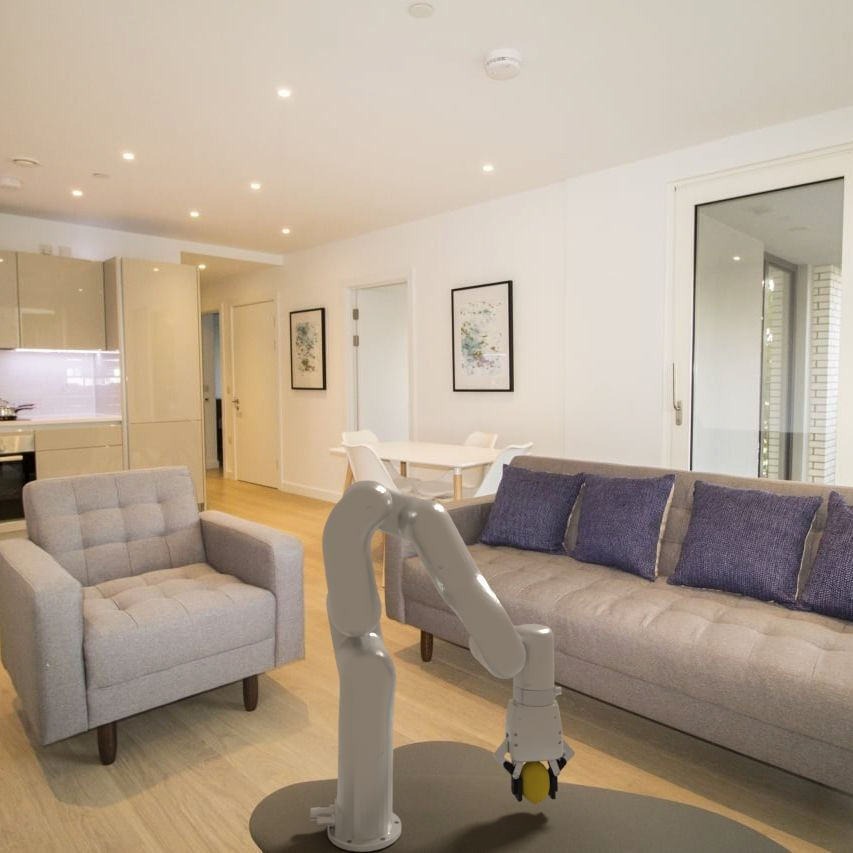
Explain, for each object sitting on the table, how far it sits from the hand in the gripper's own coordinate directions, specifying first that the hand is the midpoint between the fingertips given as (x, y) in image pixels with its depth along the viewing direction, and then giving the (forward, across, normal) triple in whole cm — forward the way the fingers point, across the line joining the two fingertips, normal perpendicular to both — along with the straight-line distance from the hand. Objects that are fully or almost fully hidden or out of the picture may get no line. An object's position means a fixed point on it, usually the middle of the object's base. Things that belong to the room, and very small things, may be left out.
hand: (534, 795), depth 116 cm
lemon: (+2, 0, 0) cm, 2 cm away
